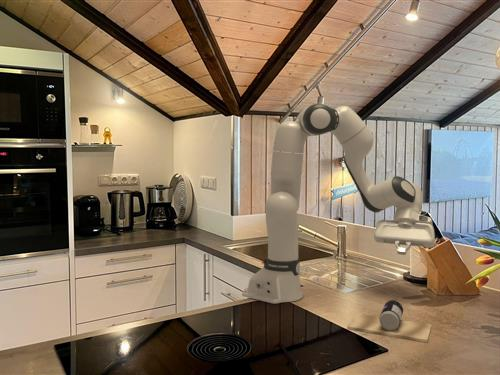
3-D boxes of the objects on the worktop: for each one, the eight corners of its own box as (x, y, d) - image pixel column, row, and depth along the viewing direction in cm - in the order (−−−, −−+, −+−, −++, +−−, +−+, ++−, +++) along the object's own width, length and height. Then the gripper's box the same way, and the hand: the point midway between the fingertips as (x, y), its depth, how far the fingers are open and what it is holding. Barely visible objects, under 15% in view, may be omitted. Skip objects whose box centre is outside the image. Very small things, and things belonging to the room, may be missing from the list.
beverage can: (386, 296, 135) (381, 309, 124) (405, 303, 133) (401, 316, 122) (382, 313, 136) (376, 327, 125) (400, 320, 133) (396, 334, 123)
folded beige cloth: (347, 329, 128) (347, 326, 128) (357, 315, 138) (357, 313, 138) (427, 342, 117) (427, 339, 117) (431, 327, 128) (431, 324, 128)
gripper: (376, 214, 159) (369, 245, 151) (436, 218, 149) (432, 251, 141) (378, 224, 163) (371, 255, 155) (436, 229, 154) (433, 262, 146)
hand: (401, 253), depth 148 cm, fingers closed
